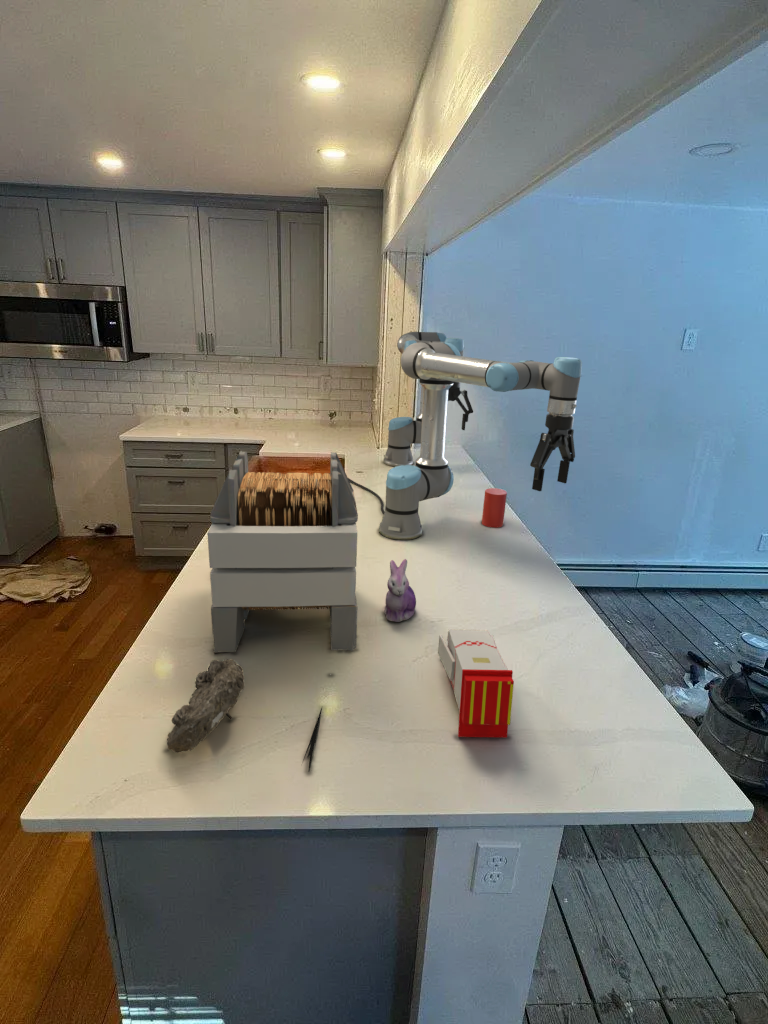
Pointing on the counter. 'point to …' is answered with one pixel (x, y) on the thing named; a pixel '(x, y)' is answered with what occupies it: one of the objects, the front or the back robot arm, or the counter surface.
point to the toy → (478, 682)
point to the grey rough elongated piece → (206, 705)
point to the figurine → (399, 594)
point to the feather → (313, 740)
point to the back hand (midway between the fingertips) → (447, 429)
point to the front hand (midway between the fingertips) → (549, 486)
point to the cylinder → (494, 507)
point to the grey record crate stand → (283, 549)
